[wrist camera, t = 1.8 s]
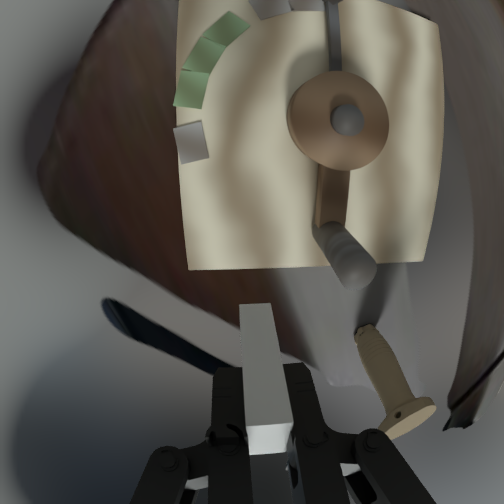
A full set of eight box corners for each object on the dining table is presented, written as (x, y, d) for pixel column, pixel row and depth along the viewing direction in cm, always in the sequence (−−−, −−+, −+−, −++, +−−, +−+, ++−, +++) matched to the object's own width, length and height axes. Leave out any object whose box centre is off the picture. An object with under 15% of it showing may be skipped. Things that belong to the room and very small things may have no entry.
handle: (336, 339, 33) (373, 438, 20) (373, 307, 31) (428, 401, 18) (355, 353, 35) (391, 441, 21) (390, 324, 33) (440, 409, 19)
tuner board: (431, 26, 16) (438, 23, 15) (417, 256, 29) (423, 261, 27) (179, -10, 15) (176, -16, 14) (187, 264, 27) (185, 271, 26)
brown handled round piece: (283, -17, 14) (301, -64, 7) (367, -2, 15) (409, -33, 8) (283, 244, 25) (300, 293, 18) (362, 242, 26) (401, 285, 18)
